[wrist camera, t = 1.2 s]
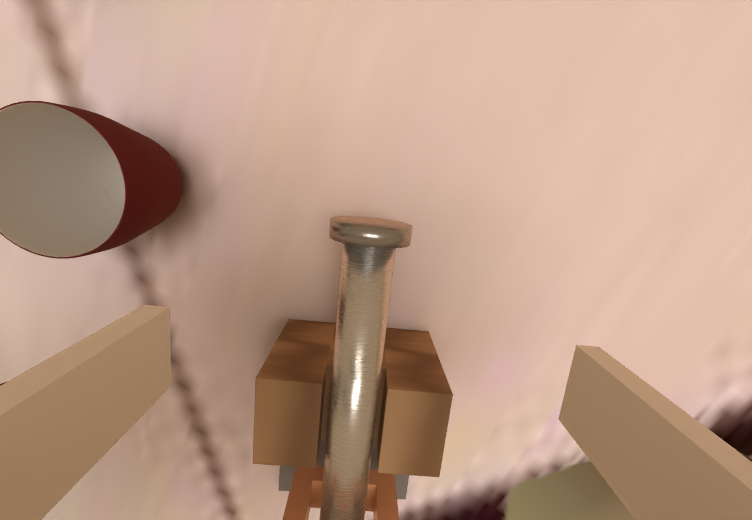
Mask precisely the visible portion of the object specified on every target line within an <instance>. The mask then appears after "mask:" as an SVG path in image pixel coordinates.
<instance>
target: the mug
mask: <svg viewBox="0 0 752 520" xmlns="http://www.w3.org/2000/svg"><path fill="white" fill-rule="evenodd" d="M181 194H182V177H181V174H180V171H179V168H178V166H177V164H176V163H175V161H174V159H173V158H172V157H171V156H170V154H169V153H168V152H167V151H166V150H165V149H164V148H163V147H161V146H160V145H159V144H158V143H156V142H155V141H153V140H151V139H149V138H148V137H146V136H144V135H142V134H140V133H138V132H136V131H134V130H132V129H130V128H128V127H126V126H124V125H122V124H120V123H118V122H116V121H114V120H111V119H109V118H107V117H104V116H102V115H99V114H96V113H93V112H90V111H87V110H83V109H79V108H74V107H70V106H65V105H60V104H55V103H50V102H42V101H24V102H18V103H14V104H11V105H7V106H5V107H3V108H1V109H0V233H1V234H2V235H3V236H4V237H5V238H7V239H8V240H9V241H11V242H12V243H14V244H15V245H17V246H19V247H21V248H22V249H25V250H27V251H29V252H32V253H34V254H37V255H41V256H45V257H50V258H75V257H81V256H85V255H89V254H94V253H98V252H101V251H105V250H109V249H112V248H115V247H117V246H120V245H122V244H125V243H127V242H129V241H130V240H132V239H134V238H136V237H138V236H139V235H141V234H143V233H144V232H146V231H148V230H149V229H151V228H153V227H154V226H156V225H158V224H159V223H161V222H162V221H164V220H165V219H166V218H168V217H169V216H170V215H171V214H172V213H173V211H174V210H175V209H176V207H177V205H178V203H179V201H180V198H181Z"/></svg>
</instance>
